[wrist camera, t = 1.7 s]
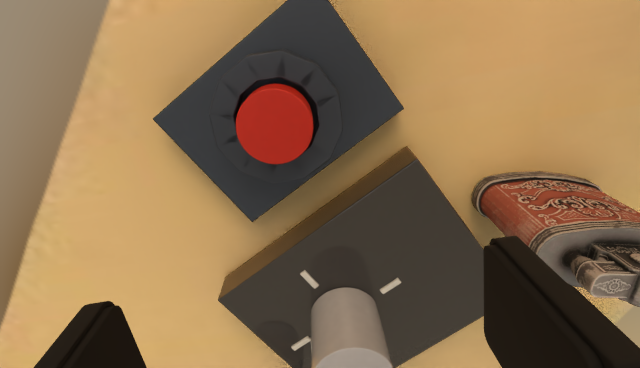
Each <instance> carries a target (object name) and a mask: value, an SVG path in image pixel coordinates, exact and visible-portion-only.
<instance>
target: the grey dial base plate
mask: <svg viewBox="0 0 640 368" xmlns="http://www.w3.org/2000/svg"><path fill="white" fill-rule="evenodd" d="M483 252H484V250H483V248H482V247H481V246H480V244H479V243H478V241H477V240H476V239H475V237H474V236H473V235H472V233H471V232H470V230H469V229H468V228H467V226H466V225H465V223H464V222H463V221H462V219H461V218H460V217H459V215H458V214H457V212H456V211H455V210H454V208H453V207H452V205H451V204H450V203H449V201H448V200H447V199H446V197H445V196H444V194H443V193H442V192H441V190H440V189H439V187H438V186H437V185H436V183H435V182H434V181H433V179H432V178H431V176H430V175H429V174H428V172H427V171H426V169H425V168H424V167H423V165H422V164H421V163H420V161H419V160H418V159H417V157H416V156H415V155H414V154H413V153H412V151H411V150H410V149H409V148H408V147H407V146H406V147H405V148H403V149H402V150H401V151H399V152H398V153H396V154H395V155H394V156H392V157H391V158H390V159H388V160H387V161H385V162H384V163H383V164H381V165H380V166H379V167H377V168H376V169H374V170H373V171H372V172H370V173H369V174H367V175H366V176H365V177H363V178H362V179H361V180H359V181H358V182H356V183H355V184H354V185H352V186H351V187H349V188H348V189H347V190H345V191H344V192H343V193H341V194H340V195H338V196H337V197H336V198H334V199H333V200H331V201H330V202H329V203H327V204H326V205H325V206H323V207H322V208H320V209H319V210H318V211H316V212H315V213H313V214H312V215H311V216H309V217H308V218H307V219H305V220H304V221H302V222H301V223H300V224H298V225H297V226H295V227H294V228H293V229H291V230H290V231H289V232H287V233H286V234H284V235H283V236H282V237H280V238H279V239H277V240H276V241H275V242H273V243H272V244H271V245H269V246H268V247H266V248H265V249H264V250H262V251H261V252H260V253H258V254H257V255H255V256H254V257H253V258H251V259H250V260H248V261H247V262H246V263H244V264H243V265H242V266H240V267H239V268H237V269H236V270H235V271H233V272H232V273H230V274H229V275H228V276H226V277H225V280H224V283H223V286H222V289H221V292H220V295H219V299H218V301H219V302H220V303H221V304H223V305H224V306H225V307H226V308H227V309H228V310H229V311H230V312H231V313H232V314H234V315H235V316H236V317H237V318H238V319H239V320H240V321H241V322H242V323H244V324H245V325H246V326H247V327H248V328H249V329H250V330H251V331H252V332H253V333H255V334H256V335H257V336H258V337H259V338H260V339H261V340H262V341H263V342H265V343H266V344H267V345H268V346H269V347H270V348H271V349H272V350H273V351H275V352H276V353H277V354H278V355H279V356H280V357H281V358H282V359H283V360H284V361H286V362H287V363H288V364H289V365H290V366H291V367H292V368H311V324H310V315H311V309H312V307H313V305H314V303H315V302H316V301H317V299H318V298H319V297H320V296H322V295H323V294H324V293H326V292H328V291H330V290H333V289H337V288H344V287H349V288H355V289H359V290H362V291H364V292H365V293H367V294H368V295H370V296H371V297H372V298H373V300H374V301H375V303H376V304H377V307H378V311H379V315H380V319H381V322H382V326H383V330H384V334H385V338H386V342H387V346H388V350H389V354H390V358H391V361H392V365H393V368H396V367H398V366H399V365H401V364H403V363H404V362H406V361H408V360H409V359H411V358H413V357H415V356H416V355H418V354H420V353H421V352H423V351H425V350H427V349H428V348H430V347H432V346H433V345H435V344H437V343H438V342H440V341H442V340H444V339H445V338H447V337H449V336H450V335H452V334H454V333H455V332H457V331H459V330H461V329H462V328H464V327H466V326H467V325H469V324H471V323H473V322H474V321H476V320H478V319H479V318H481V317H483V316H484V255H483Z"/></svg>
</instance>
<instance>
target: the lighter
mask: <svg viewBox="0 0 640 368" xmlns="http://www.w3.org/2000/svg"><path fill="white" fill-rule="evenodd" d="M472 203H473V206H474V207H475V208H476V209H477V210H478V212H479V213H480V214H481V215H482V216H484V217H486V218H489V219H490V220H491V221H492V222H493V223H494V224H495V225H496V226H497V227H498V228H499V229H500V230H501V231H502V232H503V233H504V234H505V235H506V236H507V237H508V236H517V237H519V238H520V239H521V240H522V241H523V242H524V243H525V244H526V245H527V246H528V247H529V248H530V249H531V250H533V251H534V252H535V253H536V254H537V255H538V256H539V257H540V258H541V259H542V260H543V261H544V262H545V263H546V264H547V265H548V266H549V267H551V268H552V269H553V270H554V271H555V272H556V273H557V274H558V275H559V276H560V277H561V278H562V279H563V280H564V281H565V282H566V283H568V284H570V285H572V286H575V287H584V288H585V289H586V290H587V291H588V292H589V293H590V294H591V295H592V296H594V297H601V298H618V299H620V300H623V301H626V302H628V303H630V304H632V305H635V306H637V307H640V213H639V212H637V211H635V210H633V209H631V208H630V207H628V206H626V205H624V204H622V203H621V202H619V201H617V200H615V199H613V198H612V197H610V196H608V195H606V194H604V193H603V192H602V190H601V189H600V187H599V186H597V185H595V184H593V183H591V182H589V181H587V180H586V179H582V178H578V177H574V176H569V175H565V174H558V173H549V172H540V171H538V172H512V173H505V174H498V175H491V176H487V177H484V178H483V179H482V180H480V181H479V182H478V183H477V185H476V186H475V187H474V190H473V193H472Z"/></svg>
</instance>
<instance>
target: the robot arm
mask: <svg viewBox="0 0 640 368" xmlns="http://www.w3.org/2000/svg"><path fill="white" fill-rule="evenodd" d="M483 255H484V333H485V337H486V340H487V343H488V345H489V347H490V348H491V350H492V352H493V353H494V355H495V357H496V358H497V360H498V362H499V363H500V365H501V367H502V368H640V348H639V347H638V346H637V345H635V343H633V342H632V341H631V340H630V339H629V338H628V337H627V336H626V335H625V334H624V333H623V332H622V331H621V330H620V329H618V328H617V327H616V326H615V325H614V324H613V323H612V322H611V321H610V320H609V319H608V318H607V317H606V316H604V315H603V314H602V313H601V312H600V311H599V310H598V309H597V308H596V307H595V306H594V305H593V304H592V303H591V302H589V301H588V300H587V299H586V298H585V297H584V296H583V295H582V294H581V293H580V292H579V291H578V290H577V289H576V288H574V287H573V286H572V285H570V284H568V283H566V282H565V281H564V280H563V279H562V278H561V277H560V276H559V275H558V274H557V273H556V272H555V271H554V270H553V269H552V268H551V267H549V266H548V265H547V264H546V263H545V262H544V261H543V260H542V259H541V258H540V257H539V256H538V255H537V254H536V253H535V252H534V251H533V250H531V249H530V248H529V247H528V246H527V245H526V244H525V243H524V242H523V241H522V240H521V239H520V238H519V237H517V236H508V237H502V238H496V239H492V240H491V241H490V245H489V246H485V247H484V252H483ZM34 368H146V365H145V363H144V361H143V358H142V356H141V354H140V351H139V349H138V347H137V344H136V342H135V340H134V337H133V335H132V333H131V330H130V328H129V326H128V323H127V321H126V319H125V316H124V314H123V312H122V309H121V308H120V307H119V306H115V305H114V304H113V303H112V302H110V301H106V302H100V303H93V304H88V305H85V306H83V307H82V308H81V310H80V311H79V312H78V313H77V314H76V316H75V317H74V318H73V319H72V321H71V322H70V323H69V324H68V326H67V327H66V328H65V329H64V331H63V332H62V333H61V334H60V336H59V337H58V338H57V339H56V341H55V342H54V343H53V344H52V346H51V347H50V348H49V349H48V351H47V352H46V353H45V354H44V356H43V357H42V358H41V359H40V361H39V362H38V363H37V364H36V365H35V367H34Z"/></svg>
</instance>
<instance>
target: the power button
mask: <svg viewBox="0 0 640 368" xmlns="http://www.w3.org/2000/svg"><path fill="white" fill-rule="evenodd" d="M236 133H237V136H238V139H239V141H240V143H241V145H242V147H243V148H244V149H245V150H246V152H247V153H248V154H250V155H251V156H252V157H254V158H255V159H257V160H259V161H261V162H264V163H268V164H283V163H287V162H290V161H292V160H294V159H296V158H298V157H299V156H300V155H301V154H303V152H304V151H305V150H306V149H307V147H308V146H309V144H310V142H311V139H312V135H313V116H312V111H311V108H310V105H309V103H308V101H307V100H306V98H305V97H304V96H303V95H302V94H301V93H300V92H299V91H297V90H296V89H294V88H292V87H290V86H288V85H284V84H276V83H275V84H267V85H264V86H261V87H259V88H257V89H256V90H255V91H253V92H252V93H251V94H250V95H249V96H248V97H247V99H246V100H245V101H244V102H243V104H242V105H241V107H240V109H239V111H238V113H237V117H236Z"/></svg>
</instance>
